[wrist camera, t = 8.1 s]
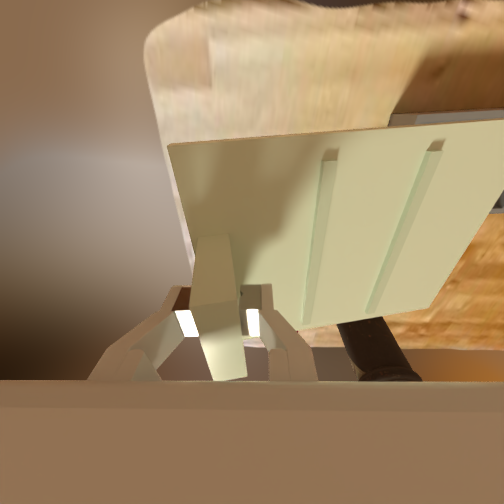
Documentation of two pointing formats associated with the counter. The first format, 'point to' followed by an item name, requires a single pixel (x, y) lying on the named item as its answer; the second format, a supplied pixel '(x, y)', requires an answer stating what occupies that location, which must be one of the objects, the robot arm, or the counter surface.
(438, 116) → the tub
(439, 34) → the counter surface
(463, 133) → the lid
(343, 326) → the container
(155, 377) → the robot arm
